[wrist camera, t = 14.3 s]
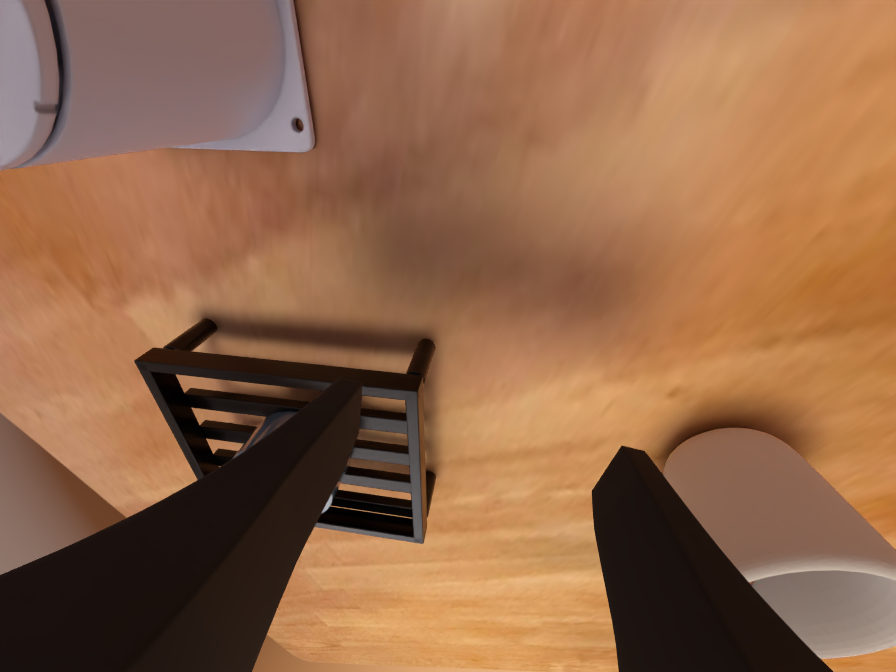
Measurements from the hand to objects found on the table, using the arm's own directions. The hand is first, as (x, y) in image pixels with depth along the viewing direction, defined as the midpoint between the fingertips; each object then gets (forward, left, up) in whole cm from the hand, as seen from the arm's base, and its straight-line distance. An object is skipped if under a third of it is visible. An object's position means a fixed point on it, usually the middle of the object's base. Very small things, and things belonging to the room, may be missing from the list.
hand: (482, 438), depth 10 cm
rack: (+9, -10, -9) cm, 16 cm away
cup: (+10, +15, -10) cm, 20 cm away
